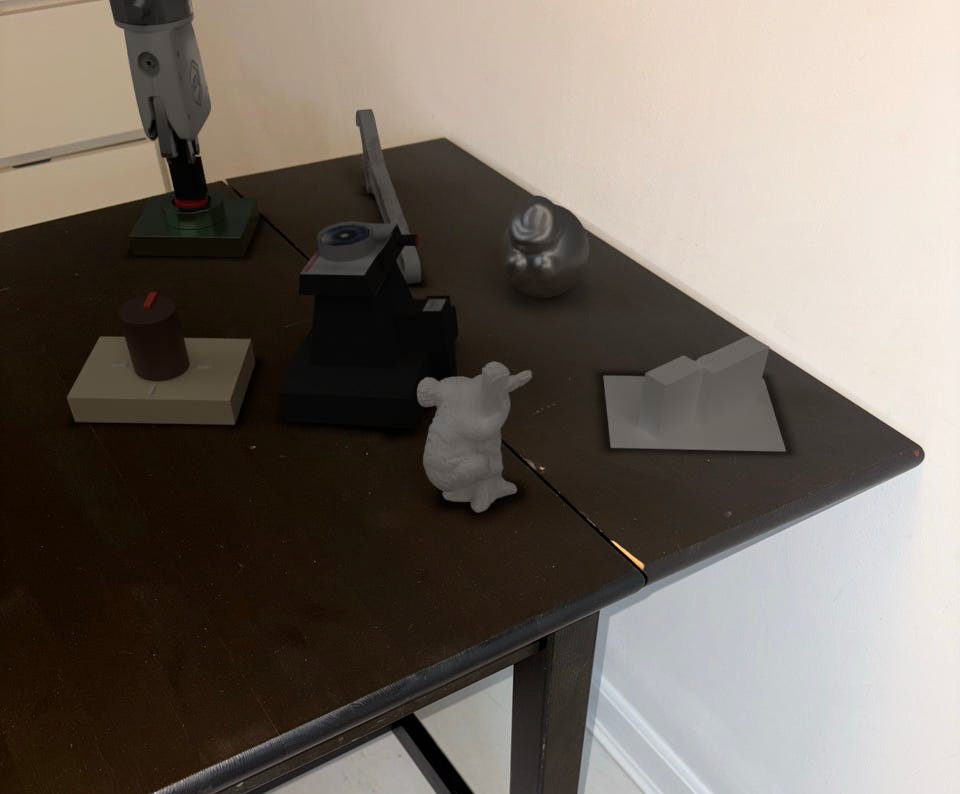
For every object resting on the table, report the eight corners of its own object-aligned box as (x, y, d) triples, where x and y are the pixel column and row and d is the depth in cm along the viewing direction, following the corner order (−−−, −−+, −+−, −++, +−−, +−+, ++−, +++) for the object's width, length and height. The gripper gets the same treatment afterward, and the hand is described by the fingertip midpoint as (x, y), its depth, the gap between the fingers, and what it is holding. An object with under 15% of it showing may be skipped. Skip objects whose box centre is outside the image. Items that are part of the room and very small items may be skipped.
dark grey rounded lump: (478, 286, 103) (479, 189, 95) (554, 265, 106) (560, 169, 99) (525, 325, 97) (529, 225, 90) (603, 301, 101) (613, 202, 93)
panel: (75, 422, 86) (65, 395, 84) (107, 360, 92) (99, 334, 91) (235, 425, 86) (229, 398, 84) (255, 362, 92) (250, 337, 90)
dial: (182, 382, 85) (167, 321, 81) (127, 380, 86) (109, 319, 81) (195, 352, 89) (181, 292, 84) (142, 351, 89) (126, 290, 85)
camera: (312, 190, 87) (477, 190, 84) (343, 339, 97) (491, 344, 94) (245, 274, 76) (430, 277, 73) (287, 431, 87) (451, 440, 83)
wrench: (405, 312, 104) (358, 167, 121) (422, 310, 105) (372, 165, 122) (403, 242, 98) (353, 99, 115) (421, 240, 98) (369, 98, 115)
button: (174, 220, 107) (170, 204, 106) (181, 206, 110) (178, 190, 108) (207, 220, 107) (203, 204, 106) (213, 206, 110) (210, 190, 108)
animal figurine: (534, 478, 81) (542, 347, 72) (514, 530, 76) (520, 397, 67) (435, 461, 82) (431, 330, 73) (411, 511, 78) (402, 378, 69)
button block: (133, 255, 107) (124, 219, 104) (156, 215, 114) (148, 179, 111) (243, 257, 107) (237, 220, 104) (260, 216, 113) (254, 181, 111)
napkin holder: (763, 377, 91) (777, 320, 87) (787, 451, 83) (804, 393, 79) (601, 375, 91) (607, 318, 87) (611, 449, 83) (618, 390, 79)
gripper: (171, 27, 88) (212, 228, 102) (206, -20, 99) (239, 169, 112) (88, 26, 89) (140, 227, 102) (132, -20, 99) (174, 168, 112)
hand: (192, 196), depth 107 cm, fingers closed
